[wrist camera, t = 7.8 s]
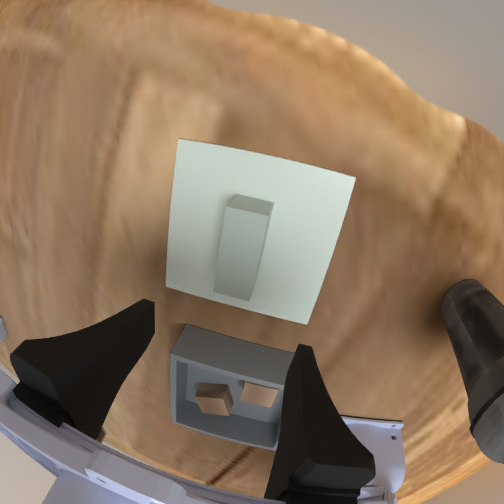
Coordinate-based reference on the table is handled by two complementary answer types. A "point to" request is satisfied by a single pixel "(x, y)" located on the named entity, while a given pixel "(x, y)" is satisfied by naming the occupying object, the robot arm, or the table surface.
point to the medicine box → (2, 330)
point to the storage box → (234, 374)
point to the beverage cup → (479, 359)
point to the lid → (253, 228)
